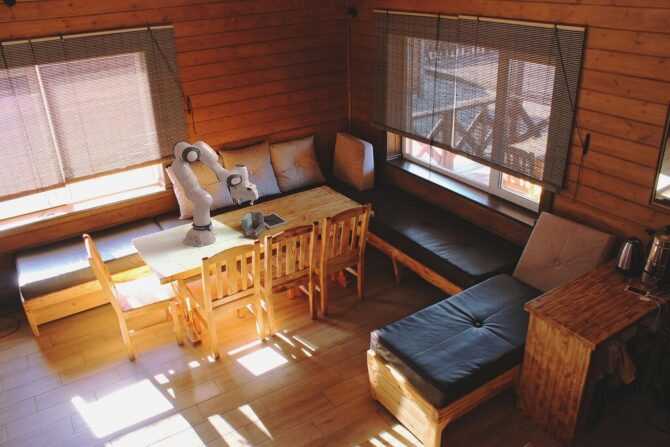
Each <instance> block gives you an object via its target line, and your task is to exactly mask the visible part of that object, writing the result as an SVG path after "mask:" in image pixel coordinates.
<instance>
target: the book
mask: <svg viewBox="0 0 670 447" xmlns="http://www.w3.org/2000/svg"><path fill="white" fill-rule="evenodd" d="M240 221H241V228H242V230H244V231H245V230H246V229H247V228H248V227H249V226H250V224H251V223H252V219H251V212H250V213H249V212H248V213H246V214H245V215H244V216H243V217H242V218H241V219H240Z"/></svg>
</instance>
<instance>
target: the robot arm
mask: <svg viewBox="0 0 670 447" xmlns="http://www.w3.org/2000/svg"><path fill="white" fill-rule="evenodd" d="M172 152H173V153H172V154H173V155H172V156H173V158H174V161H173V162H171V169H172V170H171V171H172V172H173V174H174V176H175V179H176V180H177V181H178V183H179V185H180V186H181V187H182V189H183V191H184V196H185V198H186V199H187V200H189V202H191V203H192V204H194V211H192V217H193V218H192V219H193V223H192V224H191V225H190V226H191V228H190V229H189V230H188V231H187V232H186V234H185V238H183V241H182V243H183V244H185V245H188V246H194V247H198V248H201V247H204V246H208V245H211V244H213V243H215V242H216V240H217V238H216V236H215V233H214V231H213V224H212V223H213V222H212V220H211V215H210V208H211V206H212V204H213V201H214V200H213V197H212V195H211V194H210V193H209V191H205V190H204V189H203V188H202V187H201V186H200V184H199V182H198V181H199V180H198V177H197V176H196V174H195V173H194V171H193V169H192V168H191V166H190V164H194V163H195V162H197V161H198V160H199V161H200V162H201V163H203V165H205V166H206V167H209V169H211V170H212V172H214V174H215V176H216V178H217V181H218V182H220V183H223V184H224V185H226V186H228V187H229V189H230V198H232V199H235V201H236V202H237V204H238V205H241V204H242V201H241V200H250V203H249V205H250V206H253V205H254V201H257V200H258V199H259V192H258V189H257V184H254V183H252V182H250V181H249V172H248V168H247V166H246V165H244V164H241V163H238V164H235V165H234V167H233V169H232V170H229V169H228V168H225V167H223V166H222V165H221V164H220V163H219V162H218V161H219V155H218V154H217V153H216V151H215V149H213V148H212V147H211V146H210V145H209V144H208V143H206V142H204V141H202V140H198V141H196V142H195V143H193V144H192V145H191V144H189V143H187V142H186V141H183V140H180V141H176V142H175V143H174V144H173V146H172Z"/></svg>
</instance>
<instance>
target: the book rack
mask: <svg viewBox="0 0 670 447" xmlns="http://www.w3.org/2000/svg"><path fill="white" fill-rule="evenodd" d="M250 213H251V219H252V223H251V224H250V226H249V227H248V228H247V229H246V230H244V235H243V238H244V239H254V240H258V239H259V237H260V236H261V235H262V234H263V233H264V232H265V231H266V227H265V226H264V218H263V216H264V212H263V211H252V210H251V211H250Z"/></svg>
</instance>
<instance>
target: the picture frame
mask: <svg viewBox="0 0 670 447" xmlns="http://www.w3.org/2000/svg"><path fill="white" fill-rule="evenodd" d="M263 218H264V227H265V228H267V230H273V229H276V228H280V227H282V226H285V225H288V224H289V221H288V220H286V219H285V218H284V217H282V216H280V215H279V214H278V213H276V212H272V213H269V214H265V215H263Z"/></svg>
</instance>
